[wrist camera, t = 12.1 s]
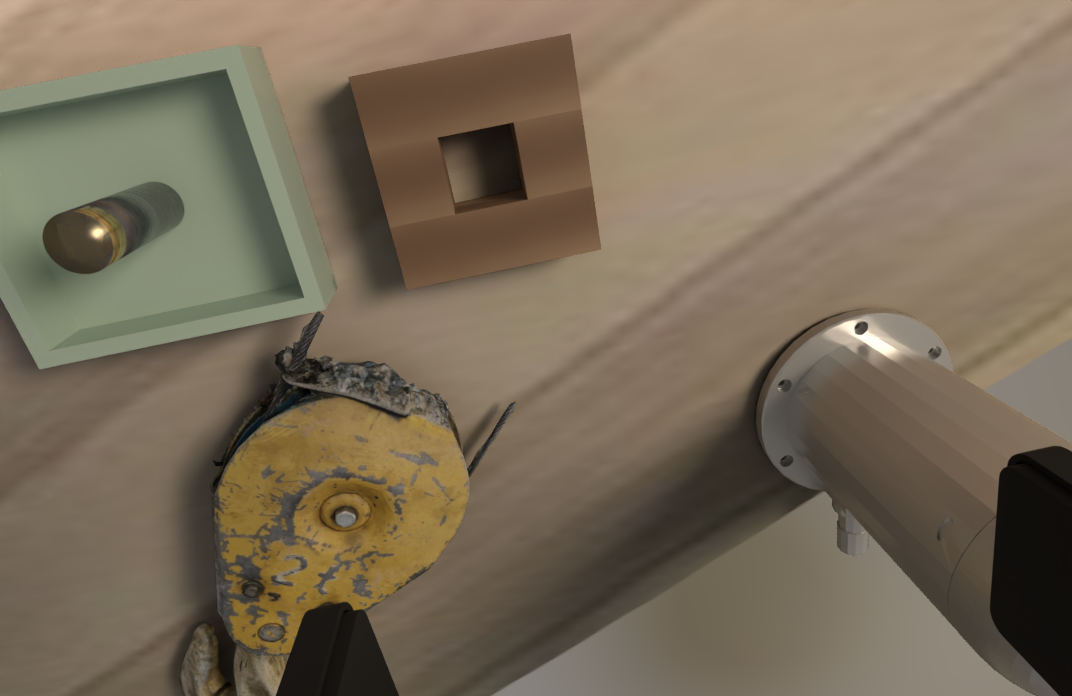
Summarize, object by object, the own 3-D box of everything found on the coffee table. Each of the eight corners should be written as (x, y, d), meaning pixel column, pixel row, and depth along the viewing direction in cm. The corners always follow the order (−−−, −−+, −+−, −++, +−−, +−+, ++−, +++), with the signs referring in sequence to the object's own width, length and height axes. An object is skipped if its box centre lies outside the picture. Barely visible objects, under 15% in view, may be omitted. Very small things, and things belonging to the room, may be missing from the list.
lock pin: (191, 225, 33) (123, 267, 25) (142, 234, 32) (59, 279, 25) (173, 177, 32) (97, 206, 24) (122, 186, 31) (30, 218, 24)
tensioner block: (589, 235, 36) (601, 249, 33) (410, 273, 35) (406, 289, 33) (560, 37, 32) (570, 33, 29) (357, 76, 31) (348, 77, 29)
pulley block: (64, 753, 37) (295, 331, 30) (98, 665, 42) (303, 284, 35) (301, 780, 44) (545, 437, 36) (306, 700, 49) (520, 384, 41)
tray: (337, 288, 35) (325, 309, 32) (77, 342, 35) (39, 369, 32) (260, 47, 30) (238, 44, 27) (-43, 106, 30) (-102, 110, 27)
